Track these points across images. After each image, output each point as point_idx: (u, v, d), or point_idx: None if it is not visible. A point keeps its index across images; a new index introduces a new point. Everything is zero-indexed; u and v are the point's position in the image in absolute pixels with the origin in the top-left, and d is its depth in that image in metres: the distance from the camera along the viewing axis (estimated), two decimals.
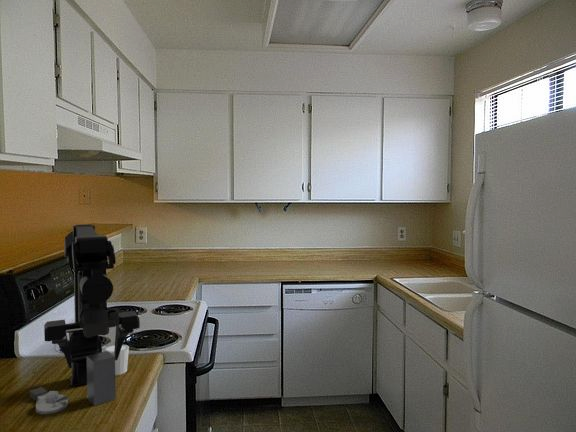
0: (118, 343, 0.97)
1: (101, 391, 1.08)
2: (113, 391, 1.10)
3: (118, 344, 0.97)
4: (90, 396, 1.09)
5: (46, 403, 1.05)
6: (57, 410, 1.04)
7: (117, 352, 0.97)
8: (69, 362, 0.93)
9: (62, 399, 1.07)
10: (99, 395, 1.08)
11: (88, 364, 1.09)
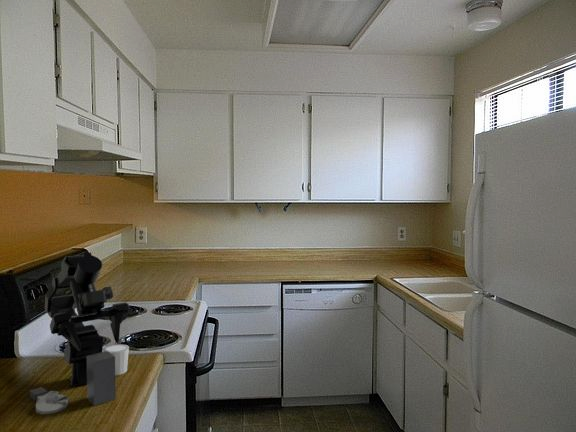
0: (116, 325, 1.15)
1: (101, 391, 1.08)
2: (113, 391, 1.10)
3: (116, 326, 1.15)
4: (90, 396, 1.09)
5: (46, 403, 1.05)
6: (57, 410, 1.04)
7: (117, 333, 1.14)
8: (78, 343, 1.07)
9: (62, 399, 1.07)
10: (99, 395, 1.08)
11: (88, 364, 1.09)
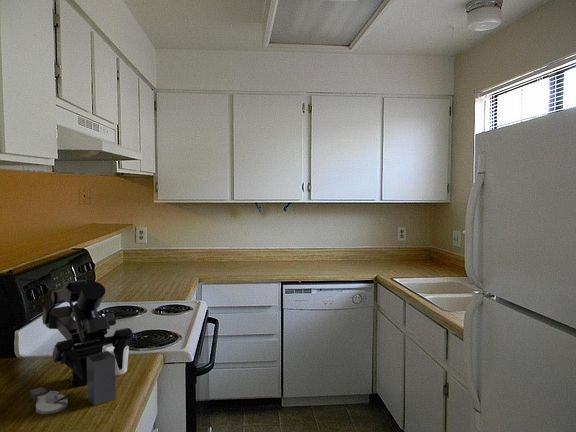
0: (119, 352, 1.14)
1: (101, 391, 1.08)
2: (113, 391, 1.10)
3: (119, 353, 1.14)
4: (90, 396, 1.09)
5: (46, 403, 1.05)
6: (57, 410, 1.04)
7: (120, 360, 1.13)
8: (81, 372, 1.06)
9: (62, 399, 1.07)
10: (99, 395, 1.08)
11: (88, 364, 1.09)
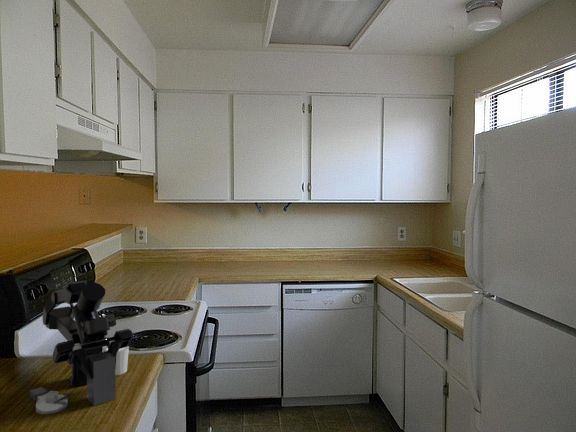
0: None
1: (101, 391, 1.08)
2: (113, 391, 1.10)
3: None
4: (90, 396, 1.09)
5: (46, 403, 1.05)
6: (57, 410, 1.04)
7: None
8: (89, 371, 1.07)
9: (62, 399, 1.07)
10: (99, 395, 1.08)
11: None
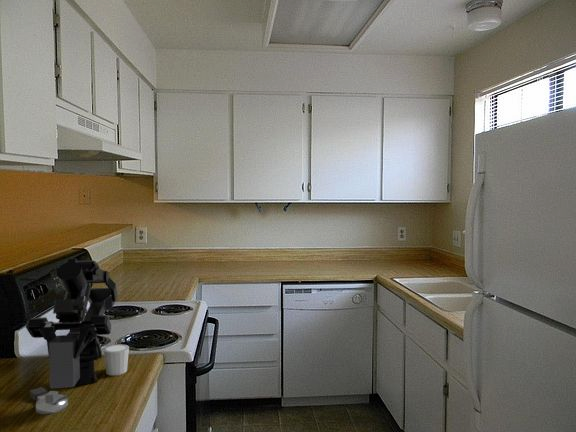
0: (79, 339, 1.07)
1: (57, 375, 1.03)
2: (71, 378, 1.04)
3: (78, 340, 1.07)
4: None
5: (46, 403, 1.05)
6: (57, 410, 1.04)
7: (76, 348, 1.06)
8: None
9: (62, 399, 1.07)
10: (55, 379, 1.03)
11: None
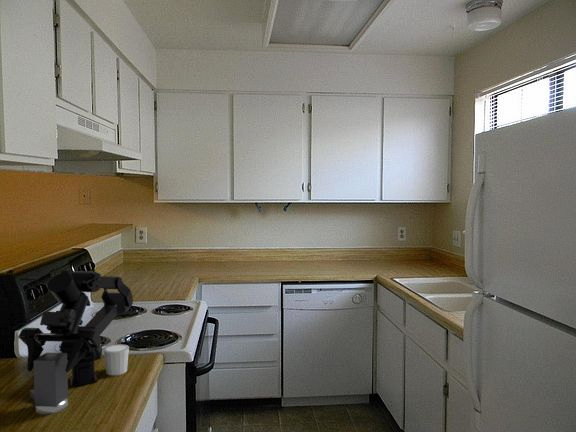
0: (72, 353, 1.06)
1: (41, 393, 1.03)
2: (54, 397, 1.03)
3: (72, 354, 1.05)
4: None
5: None
6: (57, 410, 1.04)
7: (69, 362, 1.04)
8: (29, 363, 1.05)
9: None
10: (39, 397, 1.03)
11: None
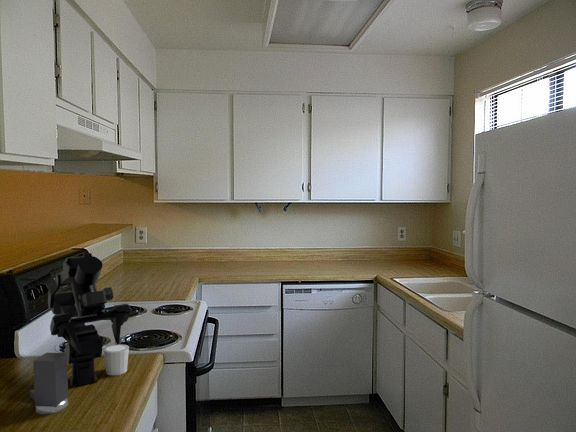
0: (117, 327, 1.13)
1: (41, 393, 1.03)
2: (54, 397, 1.03)
3: (117, 328, 1.13)
4: None
5: None
6: (57, 410, 1.04)
7: (118, 335, 1.12)
8: (78, 345, 1.06)
9: None
10: (39, 397, 1.03)
11: None
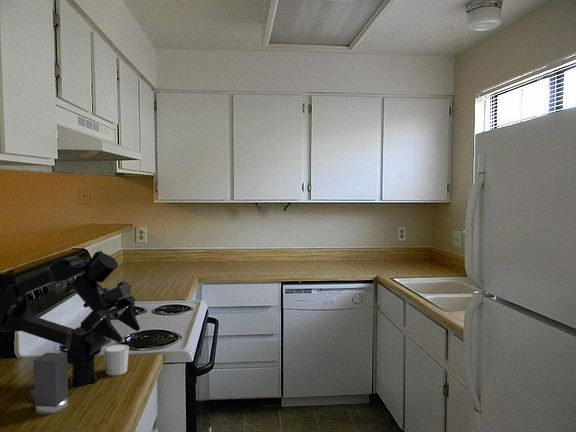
0: (132, 316, 1.23)
1: (41, 393, 1.03)
2: (54, 397, 1.03)
3: (133, 316, 1.23)
4: None
5: None
6: (57, 410, 1.04)
7: (136, 322, 1.23)
8: (119, 335, 1.13)
9: None
10: (39, 397, 1.03)
11: None
